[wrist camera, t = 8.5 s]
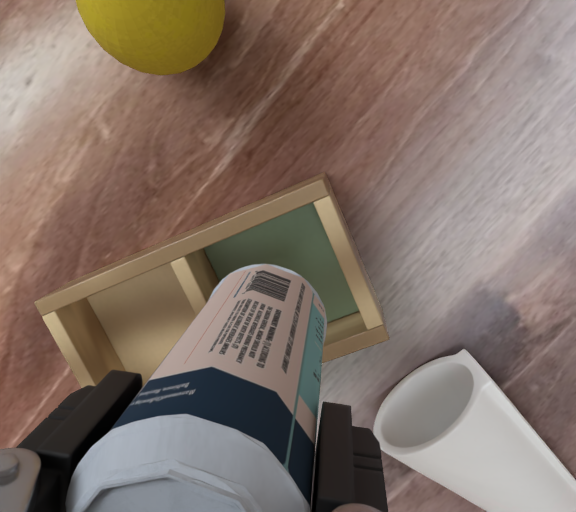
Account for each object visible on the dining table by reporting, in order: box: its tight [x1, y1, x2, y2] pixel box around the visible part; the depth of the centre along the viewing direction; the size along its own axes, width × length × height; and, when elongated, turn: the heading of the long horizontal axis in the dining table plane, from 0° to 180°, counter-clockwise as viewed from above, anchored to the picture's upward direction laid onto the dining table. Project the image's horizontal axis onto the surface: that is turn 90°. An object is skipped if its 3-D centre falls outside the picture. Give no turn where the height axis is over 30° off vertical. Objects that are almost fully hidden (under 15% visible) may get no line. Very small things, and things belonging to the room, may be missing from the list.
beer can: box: [65, 264, 327, 512], centre depth 14 cm, size 5×5×12 cm
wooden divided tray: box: [35, 172, 389, 388], centre depth 26 cm, size 8×15×4 cm, turn 114°
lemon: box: [76, 0, 225, 75], centre depth 21 cm, size 6×6×8 cm
